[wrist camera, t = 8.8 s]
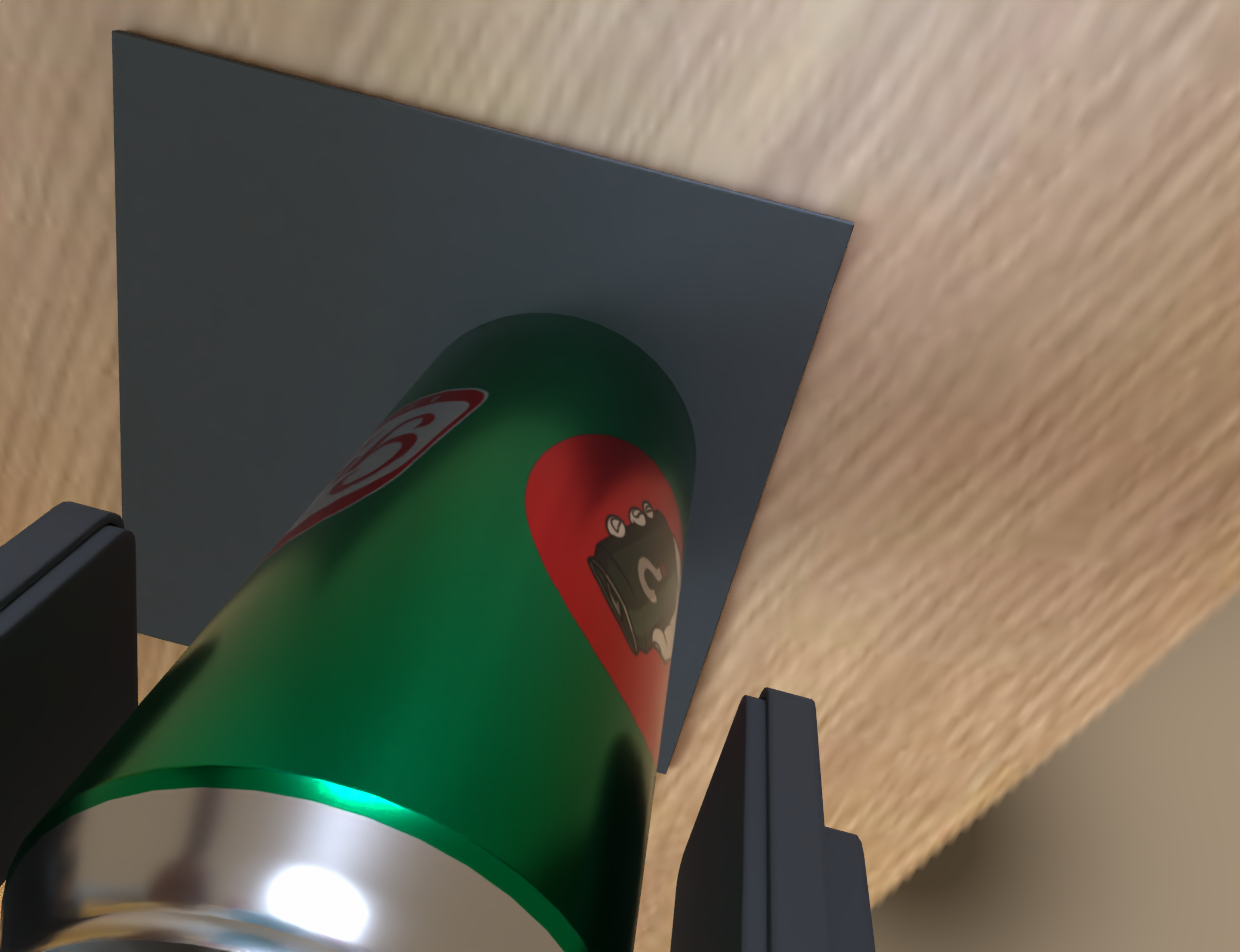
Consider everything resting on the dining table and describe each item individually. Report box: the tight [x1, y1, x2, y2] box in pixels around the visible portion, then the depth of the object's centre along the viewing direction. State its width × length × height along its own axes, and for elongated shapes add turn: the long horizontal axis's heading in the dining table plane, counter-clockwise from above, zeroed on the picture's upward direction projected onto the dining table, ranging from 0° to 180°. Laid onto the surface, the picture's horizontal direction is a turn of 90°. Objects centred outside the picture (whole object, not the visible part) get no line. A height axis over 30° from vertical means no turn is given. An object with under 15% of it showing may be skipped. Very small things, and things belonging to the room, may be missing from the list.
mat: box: [112, 30, 854, 774], centre depth 18 cm, size 12×12×1 cm
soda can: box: [0, 313, 696, 952], centre depth 12 cm, size 5×5×12 cm
